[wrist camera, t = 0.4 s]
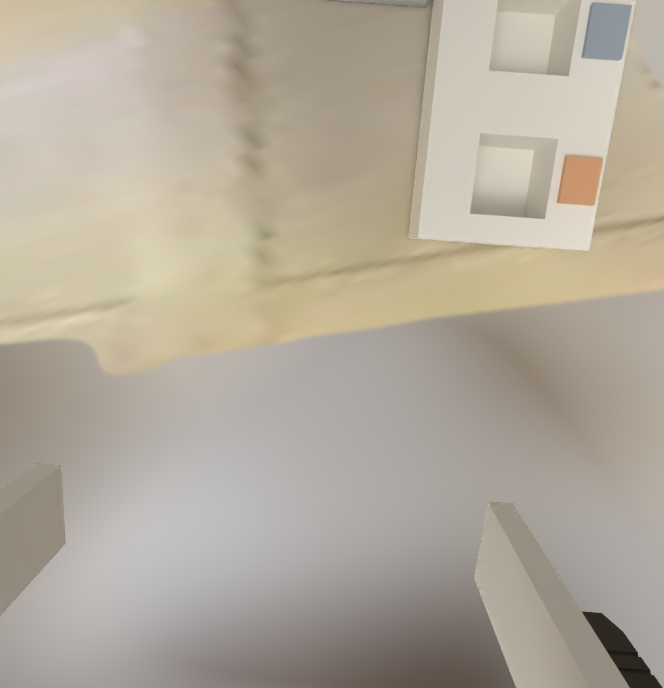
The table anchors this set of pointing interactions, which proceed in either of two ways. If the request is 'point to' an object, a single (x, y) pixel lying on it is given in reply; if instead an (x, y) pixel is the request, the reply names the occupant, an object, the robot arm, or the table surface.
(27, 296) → the table surface
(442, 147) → the socket block
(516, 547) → the robot arm
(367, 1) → the mat
